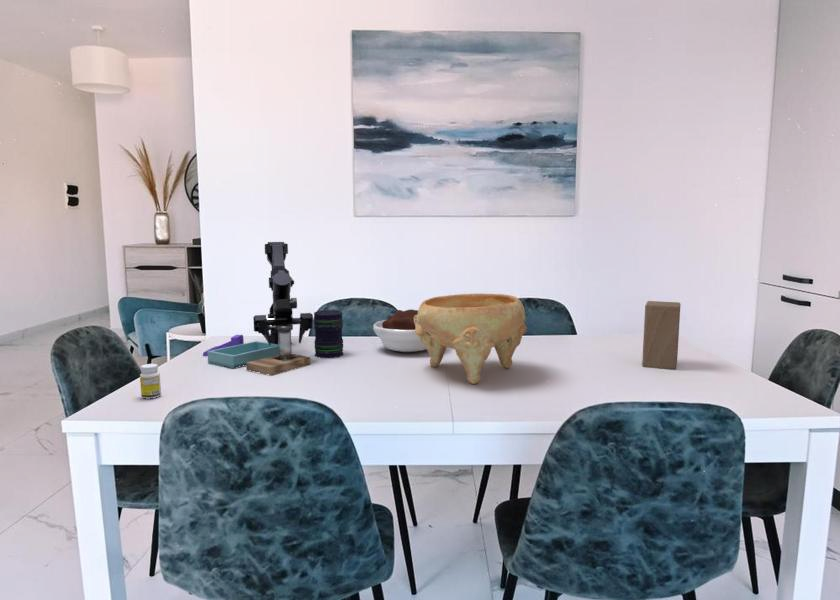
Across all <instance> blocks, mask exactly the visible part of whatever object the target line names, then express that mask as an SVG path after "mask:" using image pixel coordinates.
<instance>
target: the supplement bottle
mask: <svg viewBox="0 0 840 600" xmlns="http://www.w3.org/2000/svg"><path fill="white" fill-rule="evenodd" d="M158 370H159V366H158V364H157V363H146V364H143V365H141V366H140V372H141V373H140V374H139V381H140V394H141V395H140V396H141V398H142V399H143V398H146V399H145V400H151V399H150V398H153V399H157V398H159V396H160V397H161V396H162V388H161V387H162V386H161V373H160V372H159V371H158ZM156 397H157V398H156Z"/></svg>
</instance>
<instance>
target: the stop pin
mask: <svg viewBox="0 0 840 600" xmlns="http://www.w3.org/2000/svg"><path fill="white" fill-rule="evenodd" d="M276 330H277V331H278V344H279V360H282V361H287V360H291V359H292V354H293V353H292V351H293V350H292V344H291V343H292V331H293V330H294V325H289V324H283V325H277V326H276Z"/></svg>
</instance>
